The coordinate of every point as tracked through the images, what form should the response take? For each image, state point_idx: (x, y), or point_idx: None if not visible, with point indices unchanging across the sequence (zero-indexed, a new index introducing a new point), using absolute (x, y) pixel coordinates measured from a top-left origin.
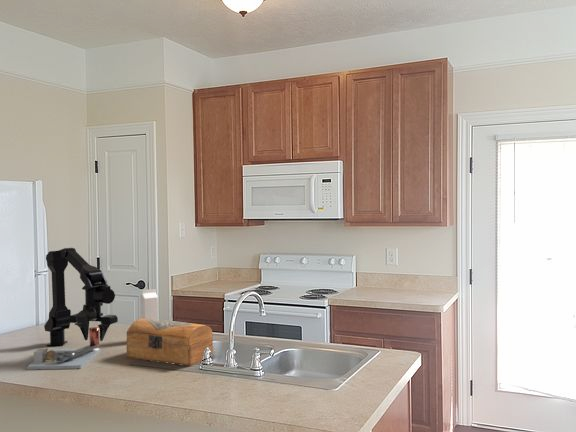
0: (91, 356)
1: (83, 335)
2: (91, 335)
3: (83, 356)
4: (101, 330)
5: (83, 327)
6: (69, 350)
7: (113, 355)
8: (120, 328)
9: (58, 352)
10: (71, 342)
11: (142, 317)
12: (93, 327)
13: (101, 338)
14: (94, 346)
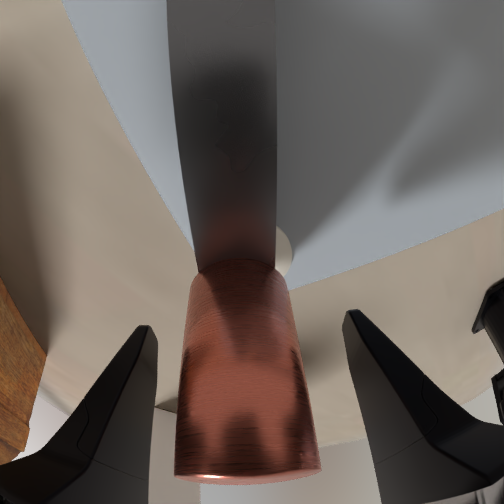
0: (99, 80)
1: (392, 345)
2: (237, 364)
3: (167, 30)
4: (70, 435)
5: (423, 446)
6: (441, 191)
7: (60, 236)
8: (348, 435)
9: (486, 125)
10: (458, 334)
11: (175, 498)
12: (282, 479)
13: (121, 348)
14: (196, 253)
